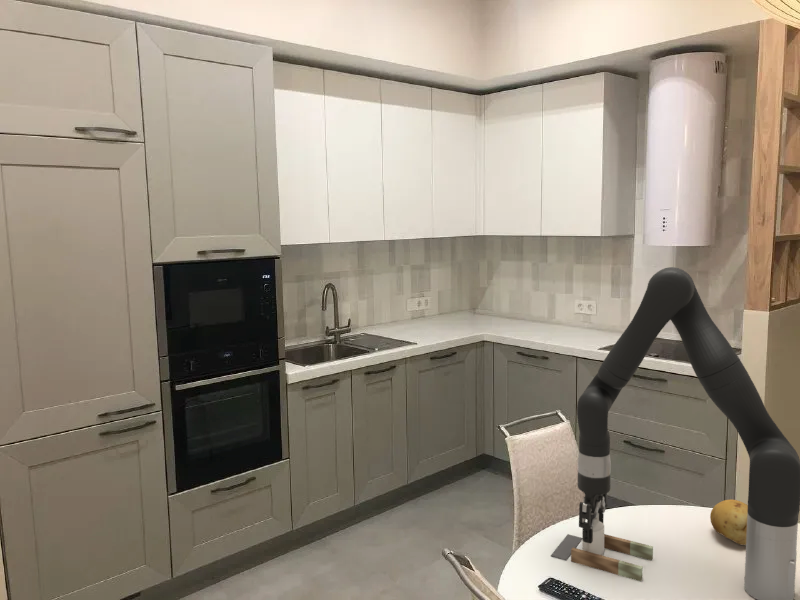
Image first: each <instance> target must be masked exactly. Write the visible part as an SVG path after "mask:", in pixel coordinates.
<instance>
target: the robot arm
mask: <svg viewBox="0 0 800 600" xmlns="http://www.w3.org/2000/svg"><path fill="white" fill-rule="evenodd" d="M643 294H644V295H643V297H642V299H641V302H640V304H639V306H638V309H637V311H636V312H635V314H634V316H633V318H632V319H631V321H630V322H629V324H628V326H627V327H626V328H625V330H624V331H623V333H622V334H621V335H620V337H619V338H618V339H617V341H616V342H615V343H614V344H613V346H612V347H611V349H610V350H609V352H608V354H607V355H606V357H605V358H604V360H603V361H602V363H601V364H600V366H599V369H598V370H597V373H596V374H595V376H594V377H593V378H592V380H591V381H590V382H589V384H588V385H587V387H586V388H585V389H584V391H583V392H582V394H581V395H580V396H579V398H578V401H577V405H576V417H577V424H578V431H579V433H578V434H579V436H578V457H577V488H578V490H580V491H581V492H583V494H584V496H583V498H582V501H580V502H579V505H578V507H579V509H578V512H579V513H578V527H579V528H582V530H583V537H581V538H582V540H583V541H584V542H586V543H592V541H593V524H594V520H596V519H597V515H598V513H599V521H600V522H602V523H603V524H604V515H605V512H606V508H607V507H608V493H610V492H611V480H612V479H611V470H612V469H611V468H612V462H611V455H610V454H611V453H610V451H611V437H610V435H611V434H610V431H609V430H608V425H609V423H608V422H609V421H608V420H609V419H608V418H609V412H610V409H611V408H612V406H613V404H614V403H615V401H616V400H617V398H618V396H619V394H620V393H621V392H622V389H623V388H625V387H626V386H627V385H628V383H629V382H630V381H631V379H632V378H633V376H634V374H635V373H636V372H637V370H638V368H639V367H640V366H641V363H642V362H643V360H644V358H645V357H646V355H647V353H648V351H649V350H650V348H651V346H652V345H653V343H654V341H655V339H656V338H657V337H658V335H659V334H660V333H661V331H662V330H663V329H664V328H665V326H666V325H668V323H669V322H670V321H671V323H672V324H673V326H674V327H675V329H676V331H677V332H678V334H679V336H680V339H681V342H682V345H683V348H684V351H685V353H686V356H687V358H688V361H689V363H690V365H691V367H692V370H693V372H694V373H695V376H696V377H697V379H698V381H699V383H700V384H701V386H702V387H703V389H704V391H705V393H706V394H707V395H708V397H709V398H710V400H711V401H712V402H713V404H715V406H716V407H717V408H718V409H719V410H720V412H721V413H722V414H724V416H725V417H727V419H728V420H729V421H730V423H731V424H732V425H733V426H734V429H736V431H737V433H738V436H739V437H740V439H741V441H742V443H743V445H744V447H745V450H746V452H747V455H748V458H749V470H748V471H749V472H748V491H747V492H748V496H747V505H748V513H747V534H746V545H745V558H744V559H745V561H744V562H745V563H744V579H743V580H744V584H743V585H744V586H743V587H744V590H745V592H746V593H747V594H748V595H749V596H750V597H753V598H754V599H756V600H795V591H796V590H795V589H796V572H797V571H796V570H797V554H798V553H797V552H798V551H797V545H798V543H797V542H798V527H799V525H798V524H799V514H800V456H799V455H798V452H797V451H796V449H795V448H794V445H792V443H790V441H789V440H788V439H787V437H786V436H785V434H783V432H782V431H781V430H780V428H779V426H777V424H776V422H775V421H774V420H773V418H772V417H771V416H770V414H769V412H768V410H767V409H766V406H765V405H764V402H763V399H762V398H761V396H760V393H759V391H758V389H757V387H756V385H755V383H754V382H753V380H752V378H751V376H750V374H749V372H748V371H747V368H745V366H744V363H743V362H742V361H741V359H740V358H739V356H738V354H737V353H736V351H735V350H734V349H733V347H732V345H731V344H730V343H729V341H728V340H727V338H726V337H725V335H724V334H723V332H722V331H721V329H720V328H718V326H717V324H716V323H715V322H714V320H713V319H712V318H711V317H710V314H709V312H708V311H707V309H706V307H705V304H704V303H703V300H702V299H701V296H700V294H699V291H698V290H697V287H696V284H695V282H694V279H693V278H692V276H691V275H690V274H689V273H688V272H687V271H685V270H684V269H682V268H679V267H674V266H672V267H665V268H662V269H660V270H659V271H657V272H656V273H655V274H653V275H652V276H651V278H650V279H649V281H648V283H647V286H646V290H645V292H644V293H643ZM591 513H594V514H593V515H591ZM582 540H581V541H582Z"/></svg>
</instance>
